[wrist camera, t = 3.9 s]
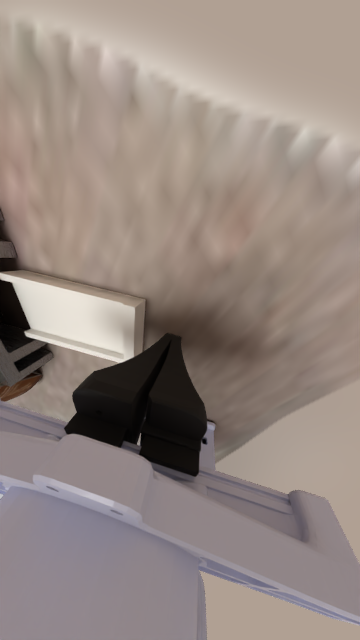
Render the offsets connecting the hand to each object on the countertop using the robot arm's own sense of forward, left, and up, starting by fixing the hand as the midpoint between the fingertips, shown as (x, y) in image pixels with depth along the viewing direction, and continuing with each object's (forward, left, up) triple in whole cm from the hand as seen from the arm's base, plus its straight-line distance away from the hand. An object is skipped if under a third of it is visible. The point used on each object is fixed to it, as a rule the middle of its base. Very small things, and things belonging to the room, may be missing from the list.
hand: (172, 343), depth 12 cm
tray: (+9, 0, -1) cm, 9 cm away
